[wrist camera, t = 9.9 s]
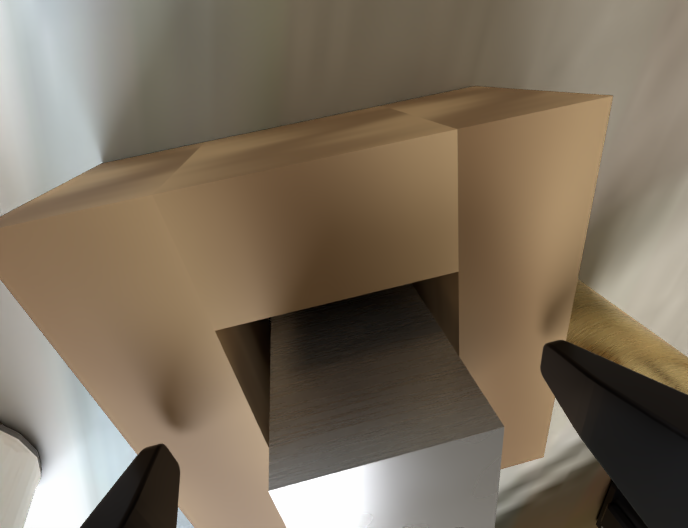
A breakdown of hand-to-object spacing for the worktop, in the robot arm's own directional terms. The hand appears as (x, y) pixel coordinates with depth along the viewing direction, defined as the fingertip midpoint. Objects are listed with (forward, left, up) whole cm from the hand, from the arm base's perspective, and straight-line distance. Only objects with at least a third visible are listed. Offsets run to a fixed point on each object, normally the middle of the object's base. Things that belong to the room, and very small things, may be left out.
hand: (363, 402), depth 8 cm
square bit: (0, 0, -6) cm, 6 cm away
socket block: (0, 0, -6) cm, 6 cm away
